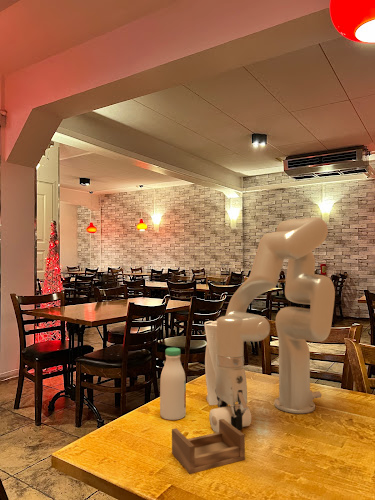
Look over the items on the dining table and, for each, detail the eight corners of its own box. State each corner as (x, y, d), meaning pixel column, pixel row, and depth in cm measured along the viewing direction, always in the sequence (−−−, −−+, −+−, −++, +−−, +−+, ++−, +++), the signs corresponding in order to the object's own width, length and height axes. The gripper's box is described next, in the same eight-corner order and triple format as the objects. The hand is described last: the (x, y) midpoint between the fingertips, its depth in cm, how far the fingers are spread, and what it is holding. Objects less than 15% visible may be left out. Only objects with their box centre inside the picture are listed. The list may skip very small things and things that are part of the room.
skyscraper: (229, 406, 125) (229, 318, 126) (207, 407, 124) (206, 319, 125) (223, 397, 133) (223, 315, 134) (202, 398, 132) (202, 315, 133)
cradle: (223, 441, 101) (223, 418, 101) (244, 459, 92) (244, 434, 92) (171, 453, 95) (171, 429, 95) (189, 473, 86) (189, 447, 86)
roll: (240, 421, 114) (240, 400, 114) (252, 429, 108) (251, 407, 109) (208, 427, 109) (208, 406, 110) (219, 436, 104) (219, 413, 104)
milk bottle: (182, 421, 113) (182, 352, 114) (157, 419, 115) (157, 351, 115) (188, 411, 121) (188, 346, 121) (163, 409, 122) (163, 345, 123)
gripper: (259, 367, 103) (259, 436, 103) (225, 352, 119) (225, 412, 118) (235, 370, 100) (235, 441, 100) (203, 355, 116) (203, 416, 115)
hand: (230, 425), depth 109 cm, fingers closed on roll, 6 cm apart
